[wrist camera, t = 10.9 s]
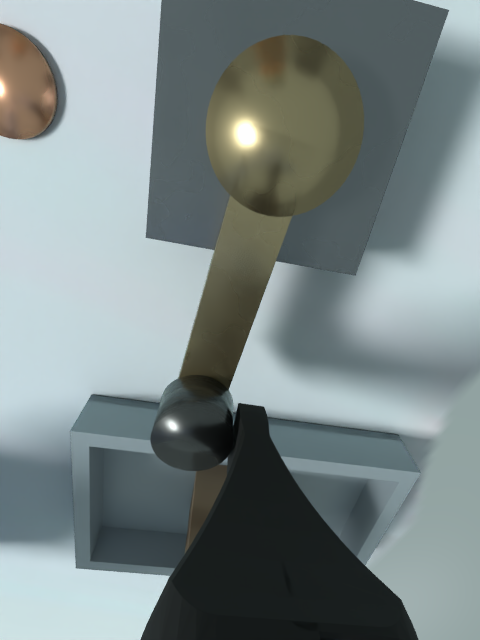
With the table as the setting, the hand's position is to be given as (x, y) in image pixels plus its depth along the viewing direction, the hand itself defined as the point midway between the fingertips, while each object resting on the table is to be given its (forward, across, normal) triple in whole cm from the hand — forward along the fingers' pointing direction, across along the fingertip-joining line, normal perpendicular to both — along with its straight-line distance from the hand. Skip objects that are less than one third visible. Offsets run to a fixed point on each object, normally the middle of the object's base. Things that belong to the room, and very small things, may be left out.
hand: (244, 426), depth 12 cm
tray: (+5, -1, +9) cm, 10 cm away
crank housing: (+5, +4, -9) cm, 11 cm away
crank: (+1, +1, -5) cm, 5 cm away
